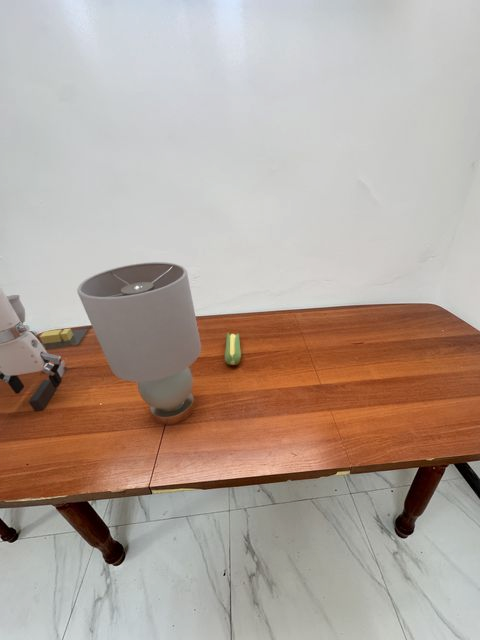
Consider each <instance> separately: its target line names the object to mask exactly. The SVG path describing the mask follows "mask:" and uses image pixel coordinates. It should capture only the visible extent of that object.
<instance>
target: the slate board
mask: <svg viewBox="0 0 480 640" xmlns="http://www.w3.org/2000/svg"><path fill="white" fill-rule="evenodd" d="M88 330H89V328H83V329H75V330H71V331H72V333H73V336H72V338H71V339H70V340H69V341H64V340H63V339H62V341H61V342H54V343H46V344H43V342H42V341H41V342H40V343H41V344H42V346H43V347H44V348H45V350H48V349H55V348H65V347H70V346H77V345H79V343H81V341H82V339H83V338H84V336H85V334H86V333H87V331H88Z"/></svg>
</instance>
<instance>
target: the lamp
mask: <svg viewBox="0 0 480 640" xmlns="http://www.w3.org/2000/svg"><path fill="white" fill-rule="evenodd" d="M188 275H189V274H188V271H187V269H186V268H185V267H184V266H183V265H181V264H177V263H173V262H164V261H163V262H161V261H160V262H159V261H158V262H157V261H156V262H152V261H151V262H142V263H141V262H140V263H133V264H127V265H122V266H117V267H114V268H110V269H106V270H104V271H101V272H99V273H95V274H93V275H92V276H89V277H87V278H86V279H84V280H83V281H81V283H79V285H78V287H77V288H76V289H77V291H76V292H77V295H78V297H79V300H80V301H81V304H82V306H83V309H84V311H85V313H86V316H87V317H88V320H89V322H90V325H91V327H92V330H93V332H94V334H95V337H96V339H97V341H98V343H99V345H100V348H101V349H102V353H103V355H104V357H105V360H106V362H107V364H108V367H109V369H110V371H111V372H112V374H113V375H114V376H115V377H117V378H118V379H121V380H123V381H126V382H133V383H136V386H137V391H138V394H139V397H140V398H141V399H142V400H143V402H145V403H146V404H147V405H149V410H150V413H151V416H152V418H153V420H154V421H155V422H156V423H158V424H159V425H164V426H165V425H167V426H171V425H176V424H179V423H181V422H184V421H185V420H187V419H188V418H189V417H191V415H192V414H193V413H194V411H195V408H196V401H195V397H194V395H193V394H194V393H192V391H193V388H194V376H193V372H192V370H191V368H190V367H191V365H192V364H194V363H195V362H196V361H197V360H198V358H199V357H200V355H201V352H202V343H201V338H200V333H199V327H198V323H197V317H196V312H195V306H194V301H193V296H192V291H191V285H190V281H189V276H188Z"/></svg>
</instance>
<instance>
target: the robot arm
mask: <svg viewBox="0 0 480 640" xmlns="http://www.w3.org/2000/svg"><path fill="white" fill-rule="evenodd" d="M6 296H7V295H6V294H5V292H4V290H3V288H2V287H1V286H0V380H2V382H3V383H7V384H8V385H9V388H11V389H12V391H13V392H14V394H16V395H19V394H20V393H21V392H22V390H24V388H25V385H24V383H23V382H22V381H21V379H20V377H19V376H20V375H26V374H33V373H39V372H43V373H45V374H47V375H48V380H50V381H51V383H52V384H53V386H54V387H55V388H57V389H58V388H59V386H60V385H61V384H62V381H63V380H62V377H60V375H59V373H58V371H57V370H58V368H59V367H60V365H61V362H62V356H61V355H58V354H52V353H49V352H48V351H47V349H45V348H44V347H43V346H42V344H41V343H42V342H40V340H39V339H38V337H36V336H35V334H34V333H33V332H31V331H30V326H29V325H28V324H27V325H24V323H23V324H22V322H21V321H20V319H19V318H18V316H17V314H16V313H15V311H14V309H13V307H12V306H11V304H10V302H9V300H8V299H7V297H6ZM51 362H53V363H51ZM18 375H19V376H18Z"/></svg>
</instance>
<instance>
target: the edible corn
mask: <svg viewBox="0 0 480 640" xmlns="http://www.w3.org/2000/svg"><path fill="white" fill-rule="evenodd" d="M241 359H242V351H241V342H240V333H236V334H235V333H231V334H230V333H229V331H227V332H226V342H225V351H224V362H225V364H226V365H228V366H237V365H239V364H240V363H241Z"/></svg>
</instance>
